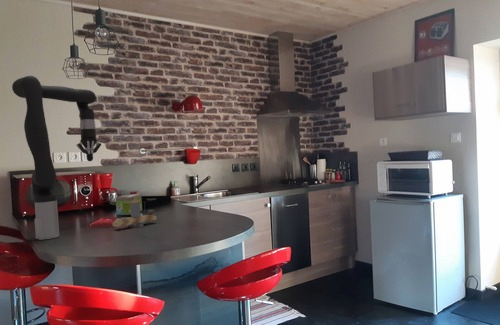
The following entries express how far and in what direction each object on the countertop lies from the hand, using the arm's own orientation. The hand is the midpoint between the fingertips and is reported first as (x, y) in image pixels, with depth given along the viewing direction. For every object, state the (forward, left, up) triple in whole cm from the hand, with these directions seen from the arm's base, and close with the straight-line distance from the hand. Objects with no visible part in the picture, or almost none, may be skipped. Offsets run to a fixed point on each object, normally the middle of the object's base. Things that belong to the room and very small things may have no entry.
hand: (90, 161), depth 208 cm
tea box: (+18, -5, -35) cm, 40 cm away
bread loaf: (+11, -23, -35) cm, 43 cm away
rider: (+11, -23, -31) cm, 40 cm away
